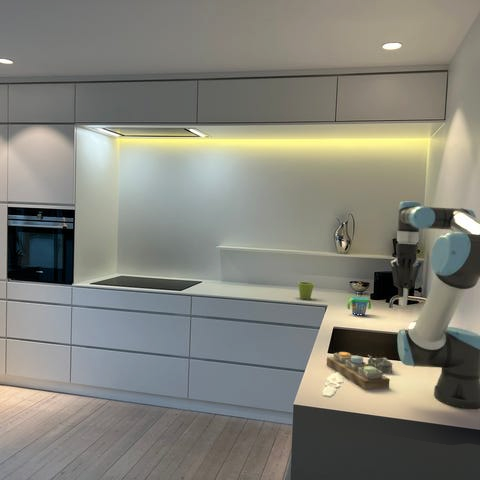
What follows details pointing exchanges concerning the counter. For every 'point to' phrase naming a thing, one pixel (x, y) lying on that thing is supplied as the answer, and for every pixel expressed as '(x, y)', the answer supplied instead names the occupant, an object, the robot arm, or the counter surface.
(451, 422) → the counter surface
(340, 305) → the counter surface
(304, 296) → the plant pot
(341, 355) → the orange button
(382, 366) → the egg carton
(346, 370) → the wooden tray
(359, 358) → the slate button
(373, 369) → the sage button
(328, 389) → the cream scalloped strip
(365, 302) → the snack cup
